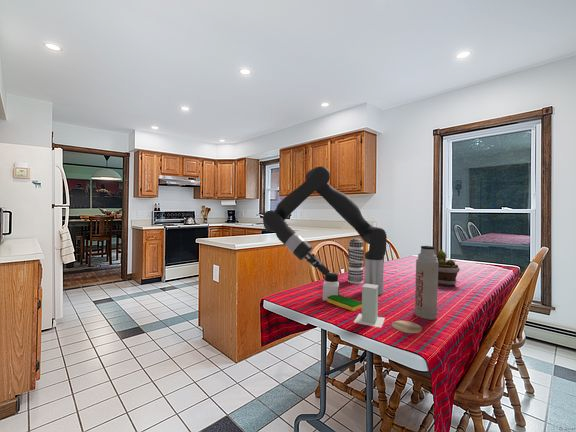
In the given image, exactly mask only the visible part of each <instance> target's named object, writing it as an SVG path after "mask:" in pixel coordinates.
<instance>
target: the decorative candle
mask: <svg viewBox="0 0 576 432" xmlns="http://www.w3.org/2000/svg"><path fill="white" fill-rule="evenodd" d="M348 242H349V245H348V249H347V251H348V252H347V258H348V259H347V260H348V261H347V262H348V269H347V273H348V274H347V282H348V283H349V282H350V284H356V285H357V284H358V285H359V284H364V281H363V280H364V278H363V277H364V273H363V272H364V270H363V263H364V259H365V256H363V255H365V249H364V245H363V243H364V240H363V239H362V238H359V237H356V238H355V237H353V238H351V239H350V240H348Z"/></svg>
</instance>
